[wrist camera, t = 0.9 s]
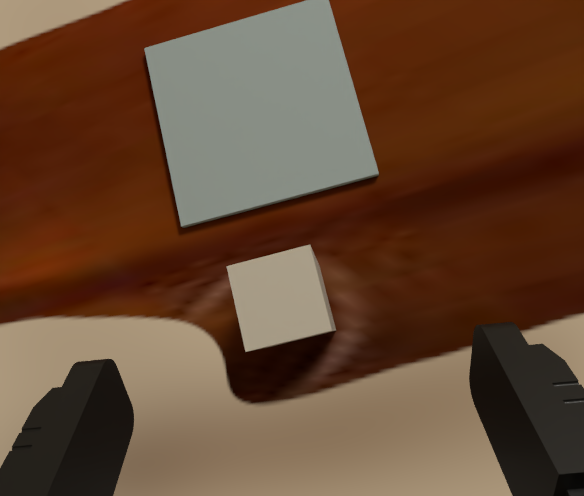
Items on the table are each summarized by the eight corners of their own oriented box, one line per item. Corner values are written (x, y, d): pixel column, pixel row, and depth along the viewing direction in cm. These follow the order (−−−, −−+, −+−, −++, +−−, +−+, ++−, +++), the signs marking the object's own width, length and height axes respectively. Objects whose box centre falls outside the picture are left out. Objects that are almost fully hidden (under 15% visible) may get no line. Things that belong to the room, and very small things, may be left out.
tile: (327, -1, 42) (327, -6, 41) (378, 175, 39) (378, 173, 39) (147, 52, 43) (144, 48, 43) (183, 227, 40) (181, 226, 40)
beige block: (319, 266, 39) (309, 244, 29) (336, 330, 38) (331, 330, 28) (257, 282, 39) (226, 266, 29) (271, 346, 38) (245, 351, 28)
